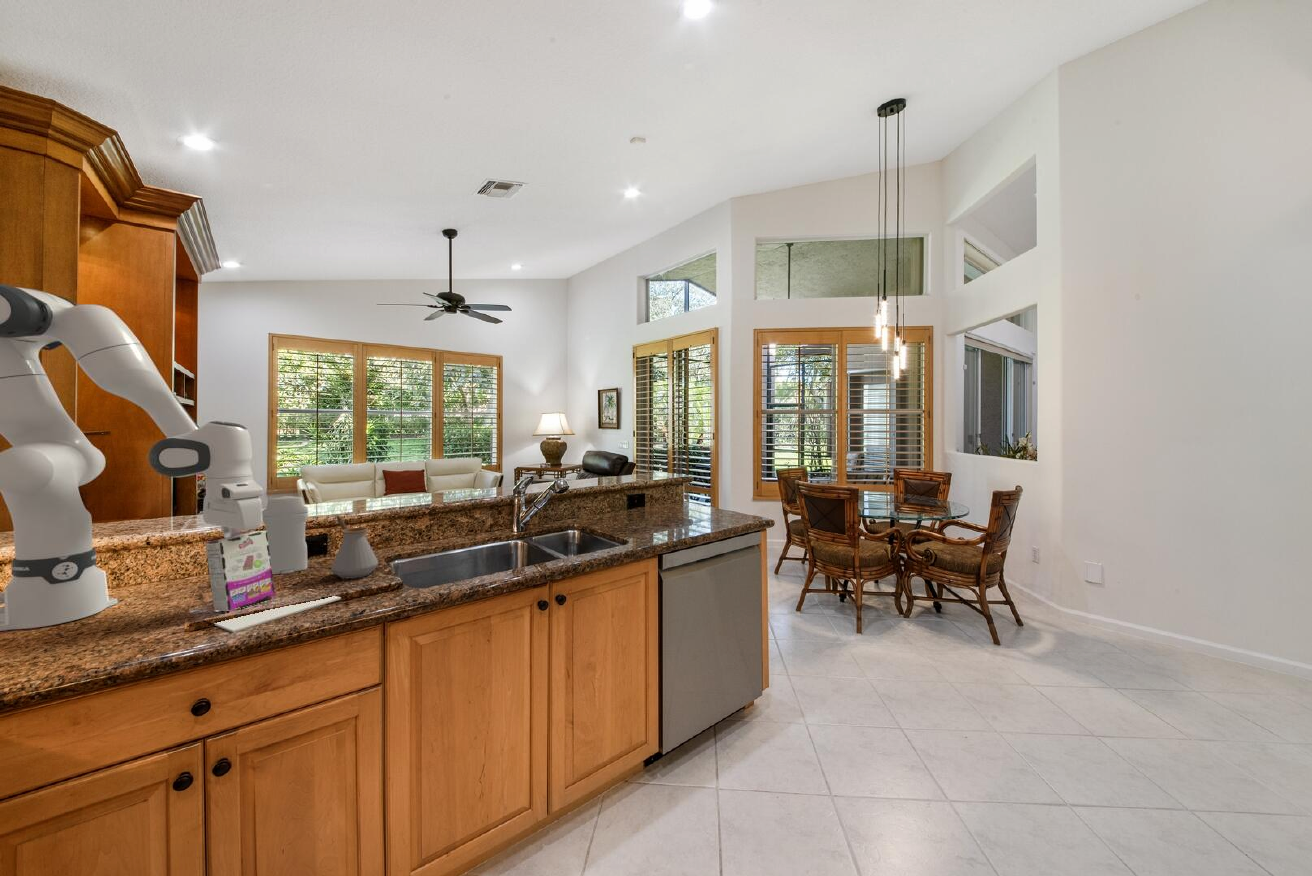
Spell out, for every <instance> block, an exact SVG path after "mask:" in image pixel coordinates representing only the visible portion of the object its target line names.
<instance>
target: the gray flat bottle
mask: <svg viewBox="0 0 1312 876" xmlns="http://www.w3.org/2000/svg"><path fill="white" fill-rule="evenodd" d="M308 517H309V507H308V506H306V505H305V504H304V501H303V497H302V496H291V495H289V496H288V495H284V496H283V495H282V496H279V497H275V498H269V499H268V501H267V505H266V508H264V509H262V523H263V525H265V531H267V536H268V545H269V552H270V561H271V568H272V576H274V575H282V574H283V575H286V574H289V573H290V574H291V573H295V572H300V571H305V570H308V545H307V542H306V526H307V525H306V523H307V522H306V521H307V520H308Z"/></svg>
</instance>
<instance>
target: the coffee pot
mask: <svg viewBox="0 0 1312 876" xmlns="http://www.w3.org/2000/svg"><path fill="white" fill-rule="evenodd" d="M335 519H337V520H335ZM333 521H334V522H335V523H336V522H338V523H339V526H340V527H341V528H342V530H341V534H343V541H342V542H341V544H340V547H339V549H338V551H337V554H336V556H335V558H334V561H333V563H332V564H331V567H330V569H331V571H332V573H334V574H335V575H337V576H338V577H339V578H340V577H341V579H344V578H345V579H349V578H351V579H357V578H358V577H359V578H363V577H365V576H366V577H367V576H368V575H371V573H372V572H373V571H374V570H375V569H376V568H377V566H378V564H379V560H378V558H377V557H376V554H375V552H374V551H373V549H372V547H371V545H370V543H369V541H368V539H367V537H366V534H367V532H368V531H369V528H368V527H352V528H351V527H350V528H347V525H346V523H345V522H344V521H343V517H342V516H339V515H336V516H335V517H334V518H333Z"/></svg>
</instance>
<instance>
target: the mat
mask: <svg viewBox="0 0 1312 876" xmlns="http://www.w3.org/2000/svg"><path fill="white" fill-rule="evenodd" d="M308 590H313V589H311V588H310V589H308ZM340 600H342V597H340V596H338V595H337V596H336V595H334V596H332V597H328V598H325V599H320V600H316V601H310V602H306V603H301V604H296V605H289V606H284V607H280V608H275V609H270V610H265V611H263V612H259V613H255V614H250V615H246V616H241V617H238V618H233V619H229V620H225V621H221V622H217V623H214V624H215V625H214V626H216V627H218V628H220V629H224V630H227V631H229V632H231V633H236V632H237V633H238V632H240V631H243V630H247V629H249V628H252V627H255V626H259V625H263V624H265V623H269V622H271V621H275V620H278V619H281V618H285V617H288V616H292V615H294V614H298V613H301V612H304V611H308V610H311V609H314V608H317V607H319V606H323V605H327V604H330V603H333V602H336V601H340ZM267 601H268V600H267ZM267 601H265V602H267Z"/></svg>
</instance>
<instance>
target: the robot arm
mask: <svg viewBox="0 0 1312 876" xmlns="http://www.w3.org/2000/svg"><path fill="white" fill-rule="evenodd" d="M60 346H65V347H66V349H68V351H69V352H70V354H71V355H72V356H73V358H74V359H75V361H76V362H77V364H78V365H79V367H80V368H81V370H82V371H83V372H84V373H85V374H86V376H87V377H88V378H90V380H92V382H94V384H95V385H97V386H98V387H99V388H100V389H101V390H103V391H106V392H107V393H109V394H112V395H115V396H118V397H120V398H123V399H126V400H127V401H130V402H131V403H134V404H135V405H137V406H138V407H139V408H140V407H141V408H142V409H143V411H145V412H146V414H148V415H149V417H151V419H152V420H153V422H154V423H155V424H156V426H157V427H158V428H159V430H161V432H162V433H163V434H164V436H165V438H163V439H160V440H159V441H157V442H156V443H154V445H152V447H151V448H150V450H149V452H148V462H149V465H150V467H151V468H152V469H153V470H154V471H155V472H156V473H158V474H160V475H162V476H165V477H168V478H184V477H191V476H195V475H204V476H205V495H204V497H203V498H204V499H203V504H202V505H203V507H202V509H203V510H202V511H203V512H202V518H203V521H204V523H205V524H208V525H213V526H218V527H220V528H221V529H220V530H221V533H222V535H223V537H224V538H227V537H231V536H236V535H240V534H242V532H243V531H250V530H256V529H259V528H260V527H261V525H262V523H263V519H262V511H263V506H262V505H263V503H262V499H261V497H263V496H264V489H263V486H261V485H259V484H258V482H256V481H255V480H254V472H253V471H252V466H251V463H252V460H253V449H252V448H253V447H252V439H251V435H250V431H249V430H248V428H247V427H245V426H244V425H242V424H240V423H239V424H238V423H234V422H228V421H217V420H216V421H215V420H214V421H209V422H207V423H205V424H204V425H203V426H199V425H198V424H197V423H196V421H195V420H194V419H193V417H192V416H191V415H190V413H189V412H188V411H187V409H186V408H185V407H184V406H183V404H182V403H181V402H180V400H179V399H178V398H177V396H176V395H175V393H174V392H172V390H171V388H170V387H169V385H168V384H167V382H166V381H165V379H164V377H163V376H162V375H161V373H160V372H159V370H158V368H157V366H156V365H155V363H154V361H153V360H152V359H151V357H150V355H149V353H148V352H147V351H146V348H145V347H144V346H143V344H142V343H141V342H140V340H139V339H138V338H137V336H136V334H134V332H133V331H132V329H131V328H129V327H128V325H127V324H126V323H125V322H124V321H123V320H122V319H121V318H120V317H119V315H117V314H116V313H115V312H114V311H113V310H112V309H110V308H108V307H106V306H103V305H101V304H100V305H99V304H85V303H84V304H77V303H75V302H73V300H72V301H71V300H70V299H67V298H65V297H64V296H63V297H62V296H60V295H54V294H51V293H49V292H45V291H42V290H38V289H34V288H26V287H25V288H24V287H18V286H14V285H13V286H12V285H9V284H3V283H2V284H1V283H0V435H1V436H2V437H3V438H4V439H5V440H6V441H8V443H9V444H10V445H11V447H10V448H7V449H5V450H2V451H0V494H1V495H2V498H3V499H4V502H5V504H6V506H7V509H8V512H9V515H10V517H11V521H12V524H13V525H12V526H13V539H14V542H13V543H14V558H13V559H12V562H11V565H10V569H11V573H10V574H11V576H12V578H11V579H10V581H9V582H8V583H7V584H6V586H5V588H4V590H3V591H2V592H0V605H2V606H0V632H2V631H9V630H10V631H11V630H22V629H24V630H25V629H36V628H41V627H49V626H53V625H58V624H63V623H68V622H72V621H76V620H79V619H80V620H81V619H83V618H87V617H90V616H93V615H95V614H97V613H100V612H102V611H103V610H105V609H107V608H108V607H109V608H110V607H112V606H114V605H117V604H118V603H119V602H118V601H119V600H118V598H116V597H110V596H109V592H108V591H109V590H108V583H107V573H106V571H105V570H103V569H101V568H99V567H97V566H96V564H97V557H98V556H97V555H98V554H97V553H96V549H95V547H93V525H92V523H93V521H92V520H93V519H92V514H91V513H90V511H88V510H87V509H86V507H85V505H84V503H83V501H82V497H81V494H80V489H79V487H81V486H83V485H86V484H88V483H90V482H92V481H93V480H95V479H96V478H97V477H99V475H101V474H102V472H103V471H104V469H105V468H106V457H105V455H104V454H103V452H102V451H101V450H100V449H98V448H97V447H95V446H94V444H93V443H91V441H90V440H89V439H88V438H87V437H86V436H85V435H86V434H84V433H83V432H82V430H81V429H80V428H79V427H78V425H77V424H76V423H75V422H74V421H73V419H72V417H71V416H70V415H69V414H68V412H67V411H66V409H65V408H64V406H63V405H62V403H61V400H60V399H59V397H58V395H57V393H56V391H55V389H54V387H53V385H52V383H51V381H50V380H49V377H48V375H47V372H45V369H44V367H43V365H42V363H41V361H40V358H39V353H40V351H41V350H45V351H52V350H54V349H57V348H59V347H60ZM3 604H4V606H3Z"/></svg>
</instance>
